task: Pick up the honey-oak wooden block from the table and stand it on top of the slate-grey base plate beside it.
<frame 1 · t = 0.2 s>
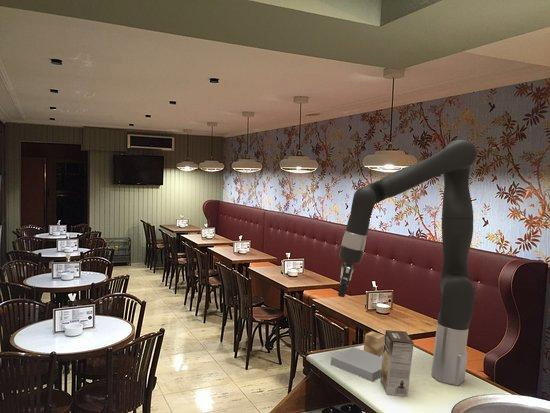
hand: (341, 293, 148), 22 cm above the table, tool pointing down, fingers open, 8 cm apart
oak block: (373, 354, 156), on the table
slate base: (361, 366, 145), on the table
coffee box: (393, 389, 131), on the table
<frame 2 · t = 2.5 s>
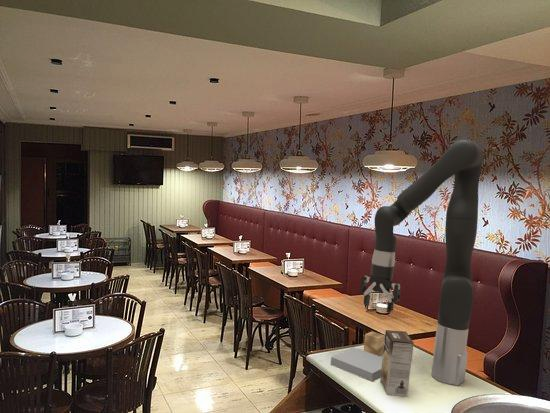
hand: (377, 309, 155), 16 cm above the table, tool pointing down, fingers open, 8 cm apart
nothing on the table moved.
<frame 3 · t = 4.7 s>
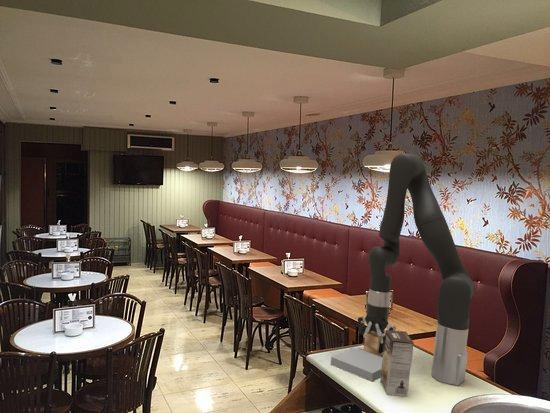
hand: (373, 350, 156), 1 cm above the table, tool pointing down, fingers closed on oak block, 5 cm apart
oak block: (373, 354, 156), on the table, touching gripper
everything else where it was.
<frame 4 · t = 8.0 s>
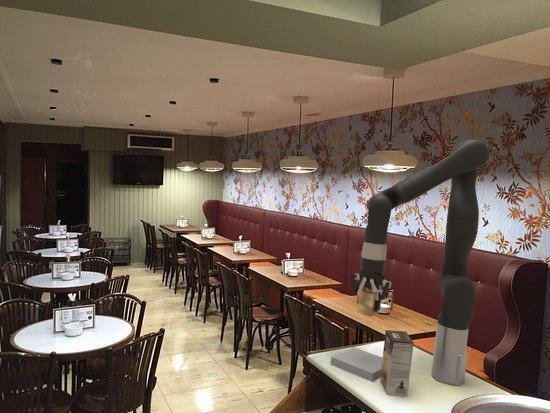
hand: (368, 308, 143), 19 cm above the table, tool pointing down, fingers closed on oak block, 5 cm apart
oak block: (367, 313, 143), point 18 cm above the table, touching gripper
everything else where it was.
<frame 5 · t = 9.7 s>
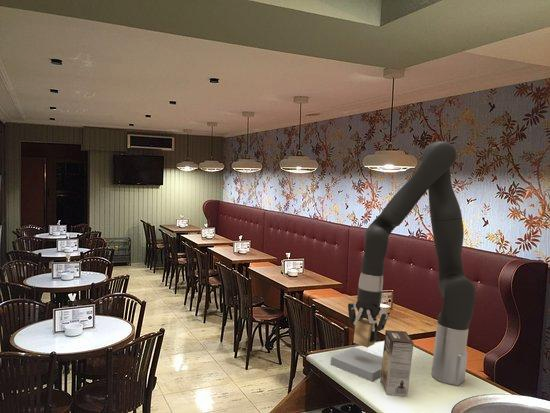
hand: (364, 338, 144), 9 cm above the table, tool pointing down, fingers closed on oak block, 5 cm apart
oak block: (363, 343, 144), point 8 cm above the table, touching gripper
everything else where it was.
when the fingers open (5 cm above the table, at t = 11.4 s): oak block drops 1 cm, resting on slate base.
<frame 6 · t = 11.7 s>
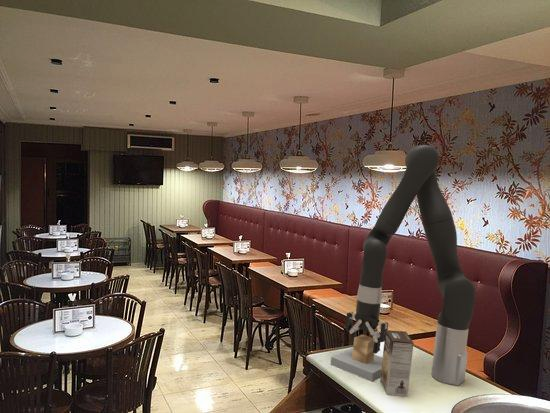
hand: (363, 348, 144), 6 cm above the table, tool pointing down, fingers open, 8 cm apart
oak block: (362, 359, 144), point 2 cm above the table, touching slate base
everything else where it was.
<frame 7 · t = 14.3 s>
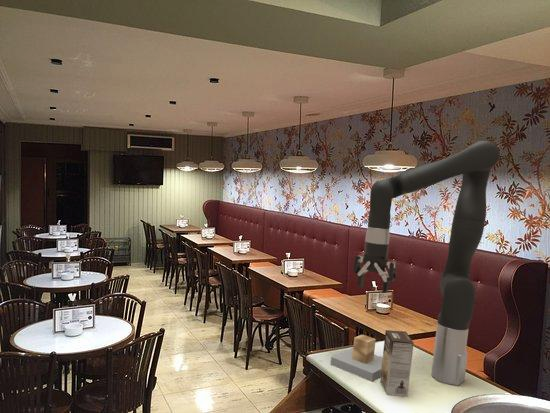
hand: (372, 289, 147), 25 cm above the table, tool pointing down, fingers open, 8 cm apart
nothing on the table moved.
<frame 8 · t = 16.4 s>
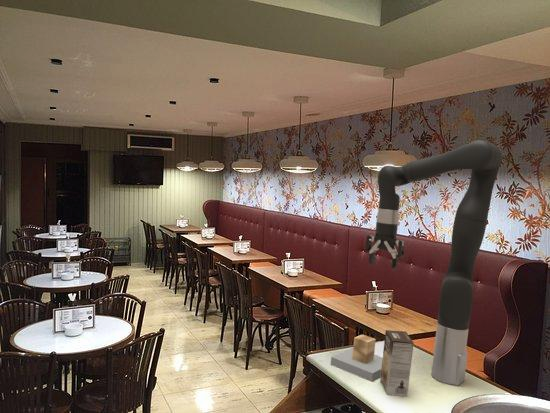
hand: (382, 266, 161), 30 cm above the table, tool pointing down, fingers open, 8 cm apart
nothing on the table moved.
at the end: oak block inside the target area on the slate base (0.1 cm from its centre), point 2.5 cm above the slate base's base; oak block tilted 0°; the gripper is holding nothing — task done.
